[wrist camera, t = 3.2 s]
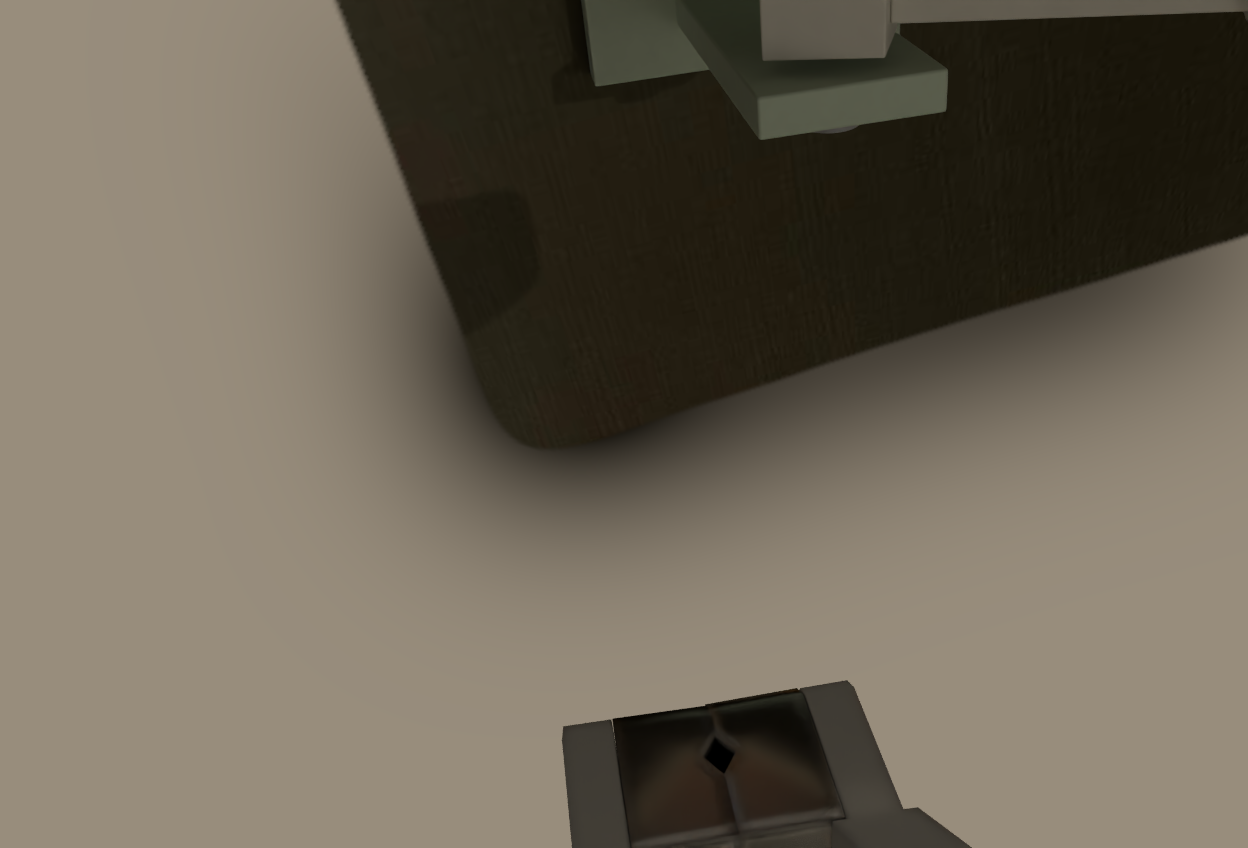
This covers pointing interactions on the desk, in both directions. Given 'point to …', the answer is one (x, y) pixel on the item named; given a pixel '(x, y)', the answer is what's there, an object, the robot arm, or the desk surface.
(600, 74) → the switch base
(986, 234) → the desk surface
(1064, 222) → the desk surface
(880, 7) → the switch lever
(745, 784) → the robot arm
